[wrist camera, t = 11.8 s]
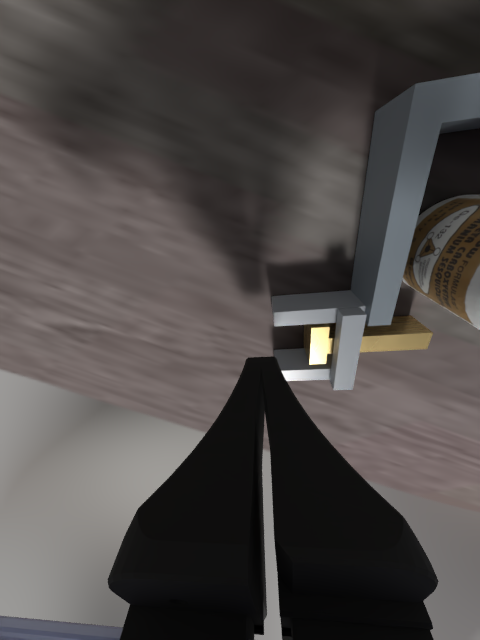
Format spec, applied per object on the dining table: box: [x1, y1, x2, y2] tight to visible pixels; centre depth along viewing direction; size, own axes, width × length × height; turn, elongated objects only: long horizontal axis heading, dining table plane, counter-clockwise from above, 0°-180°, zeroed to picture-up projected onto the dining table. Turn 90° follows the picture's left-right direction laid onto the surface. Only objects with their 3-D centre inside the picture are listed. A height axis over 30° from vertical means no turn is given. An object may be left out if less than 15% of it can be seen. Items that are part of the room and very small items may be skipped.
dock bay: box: [271, 73, 480, 390], centre depth 10 cm, size 12×12×3 cm
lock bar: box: [304, 316, 433, 364], centre depth 12 cm, size 6×2×2 cm, turn 96°
